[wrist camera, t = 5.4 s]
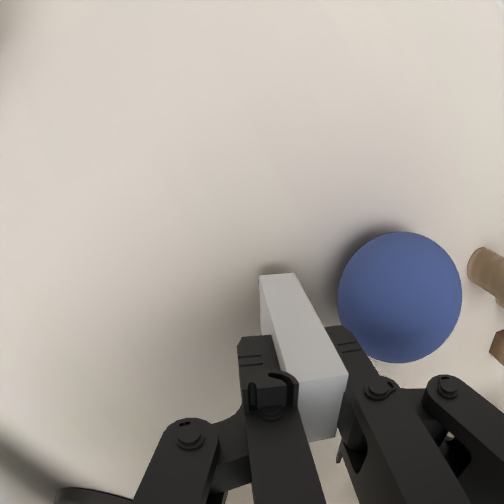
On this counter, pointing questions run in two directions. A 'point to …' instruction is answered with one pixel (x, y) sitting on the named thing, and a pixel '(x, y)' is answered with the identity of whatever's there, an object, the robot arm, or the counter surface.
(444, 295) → the ball
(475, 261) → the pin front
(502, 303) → the pin
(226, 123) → the counter surface
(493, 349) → the rail
